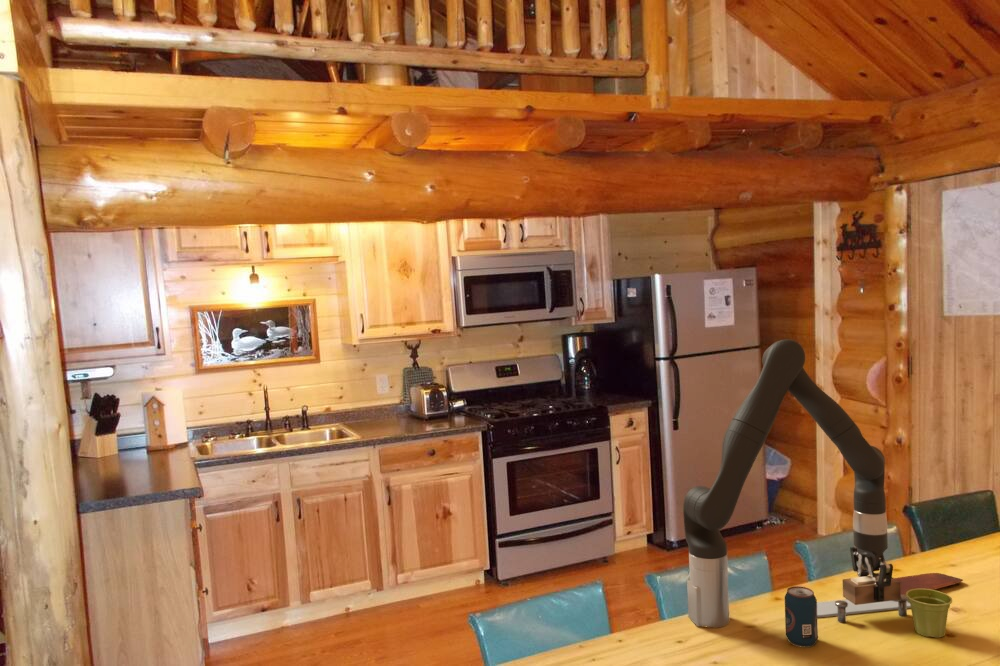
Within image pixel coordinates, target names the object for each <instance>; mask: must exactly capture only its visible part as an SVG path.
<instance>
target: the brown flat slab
mask: <svg viewBox="0 0 1000 666" xmlns="http://www.w3.org/2000/svg"><path fill="white" fill-rule="evenodd" d="M893 578H894V579H896V580H898V581H900V585H901V594H902V595H906V592H907V591H909V590H912V589H931V590H937V589H938V590H939V589H942V588H945V587H948V586H952V585H955V584H958V583H961V582H963V581H964V579H962V578H959V577H956V576H952V575H948V574H945V573H938V572H927V573H921V574H915V575H906V576H899V577H893Z"/></svg>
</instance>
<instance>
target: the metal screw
mask: <svg viewBox="0 0 1000 666" xmlns="http://www.w3.org/2000/svg"><path fill="white" fill-rule="evenodd" d="M837 600H838V601H835V605H836V606H837V609H838V616H837V621H838V622H839V623H841V624H844V623H846V622H847V619H846V618H847V617H846V616H847V615H846V607H848V603H847V602H845V601H840V600H841V599H837Z"/></svg>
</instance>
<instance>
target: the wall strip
mask: <svg viewBox="0 0 1000 666" xmlns="http://www.w3.org/2000/svg"><path fill="white" fill-rule="evenodd" d="M838 600H840V601H845V602H847V603H848V607H846V616H847V615H857V614H858V615H859V614H865V613H875V612H876V613H877V612H885V611H895V610H898V600H893V601H885V602H876V603H868V604H859V605H855V604H853V603H852V602H850V601H849V600H847V599H846V598H844V599H834V600H827V601H826V600H824V601H817V619H818V618H827V617H828V618H829V617H836V616H837V617H838V609H837V606H836V605H835V601H838ZM907 609H911V605H910V603H909V601H907Z"/></svg>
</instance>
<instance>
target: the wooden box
mask: <svg viewBox="0 0 1000 666" xmlns="http://www.w3.org/2000/svg"><path fill="white" fill-rule="evenodd" d="M894 578H895V577H893V576H892V579H891V586H888V587H884V601H880V602H885V601H893V600H901V585H900V581H898V580H896V579H894ZM878 580H879V576H877V581H878ZM885 581H886V579H885ZM842 597H843V598H844V599H847V600H849V601H850V602H852V603H853V604H855V605H859V604H868V603H876V601H875V600H874V584H873V579H872V577H871V576H870V575H869V576H864V577H859V576H857V577H851V578H842Z"/></svg>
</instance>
